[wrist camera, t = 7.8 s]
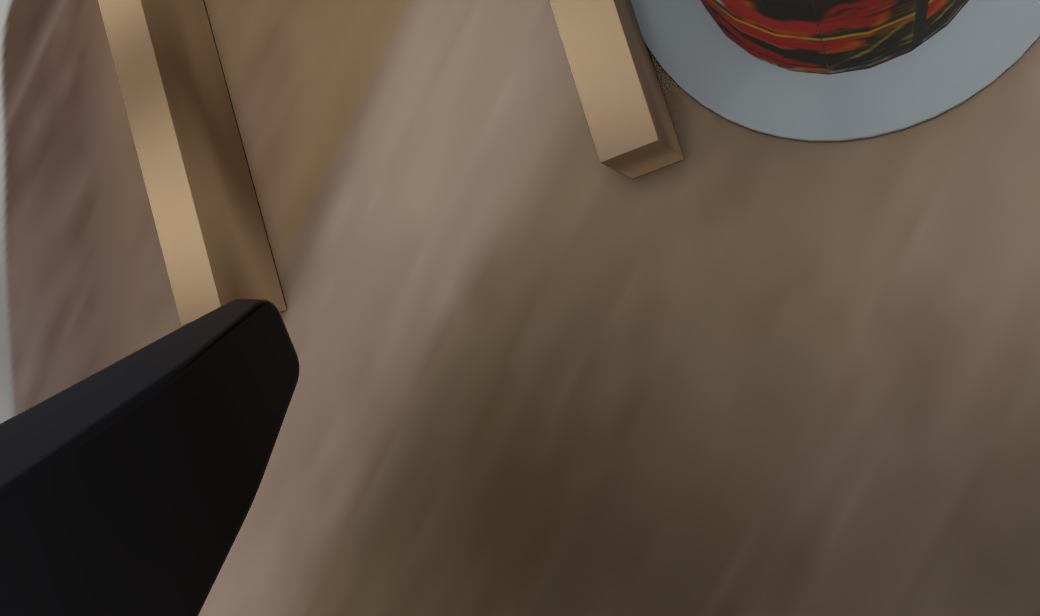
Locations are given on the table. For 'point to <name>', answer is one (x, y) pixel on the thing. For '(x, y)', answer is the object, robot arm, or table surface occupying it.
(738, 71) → the coaster
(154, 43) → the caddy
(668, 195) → the table surface
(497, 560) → the table surface
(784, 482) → the table surface
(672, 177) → the table surface
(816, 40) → the deodorant
